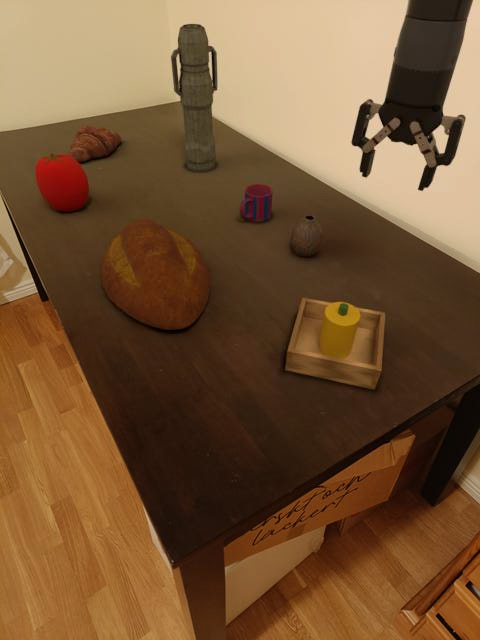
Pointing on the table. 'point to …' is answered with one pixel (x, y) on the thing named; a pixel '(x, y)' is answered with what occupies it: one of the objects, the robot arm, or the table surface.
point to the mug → (257, 203)
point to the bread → (155, 275)
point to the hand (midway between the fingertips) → (392, 181)
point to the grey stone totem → (196, 94)
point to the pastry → (93, 143)
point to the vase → (307, 236)
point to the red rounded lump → (62, 182)
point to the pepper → (339, 329)
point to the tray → (353, 369)
